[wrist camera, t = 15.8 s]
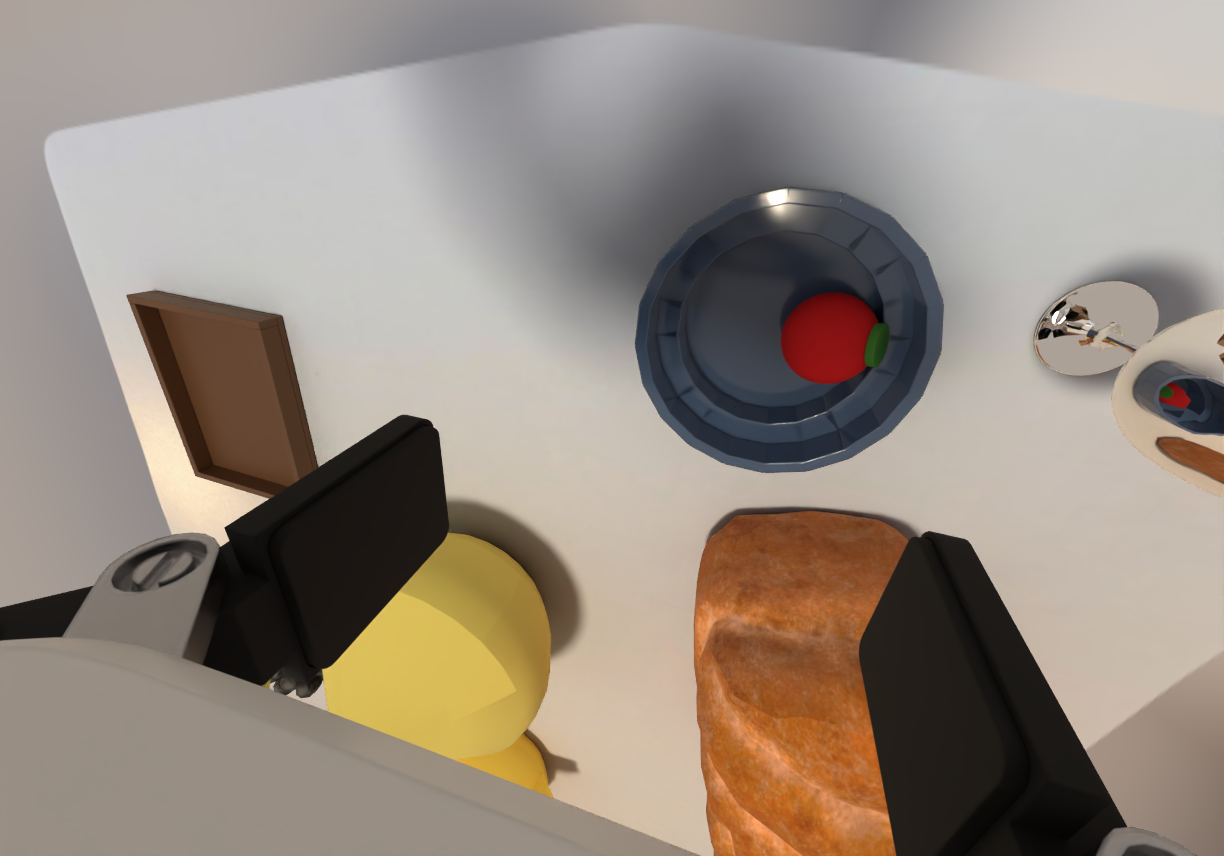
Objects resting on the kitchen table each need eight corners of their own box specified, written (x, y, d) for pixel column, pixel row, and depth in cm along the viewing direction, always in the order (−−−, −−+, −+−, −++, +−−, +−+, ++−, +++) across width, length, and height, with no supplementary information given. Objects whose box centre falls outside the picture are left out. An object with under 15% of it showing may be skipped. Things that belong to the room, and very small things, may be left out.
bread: (719, 748, 43) (695, 993, 30) (698, 502, 33) (645, 713, 20) (894, 784, 39) (955, 1091, 26) (934, 512, 28) (1073, 796, 15)
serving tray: (153, 290, 40) (125, 294, 38) (282, 316, 37) (257, 322, 35) (216, 465, 48) (195, 476, 46) (325, 498, 45) (307, 510, 43)
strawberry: (773, 287, 23) (878, 294, 20) (810, 290, 26) (906, 296, 23) (758, 379, 24) (855, 399, 21) (795, 371, 27) (884, 387, 24)
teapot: (546, 689, 47) (489, 813, 38) (592, 802, 54) (553, 931, 45) (392, 670, 55) (312, 771, 45) (449, 772, 61) (390, 878, 52)
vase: (391, 603, 49) (198, 812, 33) (402, 463, 40) (140, 656, 23) (553, 684, 47) (434, 951, 30) (604, 555, 38) (472, 839, 21)
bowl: (675, 176, 25) (653, 173, 20) (959, 204, 22) (1004, 208, 18) (644, 406, 31) (623, 441, 27) (862, 452, 28) (878, 499, 24)
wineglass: (1059, 409, 24) (1268, 573, 14) (991, 325, 23) (1158, 431, 13) (1206, 335, 21) (1606, 472, 11) (1134, 236, 21) (1489, 284, 10)
